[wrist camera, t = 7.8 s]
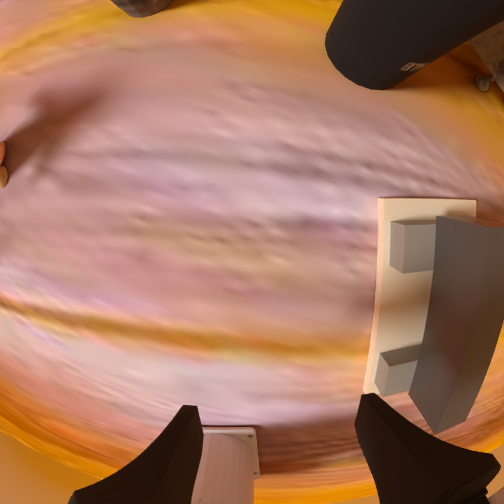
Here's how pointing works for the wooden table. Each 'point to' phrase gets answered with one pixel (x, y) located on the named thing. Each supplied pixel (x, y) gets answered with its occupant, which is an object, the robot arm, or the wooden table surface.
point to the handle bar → (460, 319)
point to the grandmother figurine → (1, 172)
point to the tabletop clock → (490, 56)
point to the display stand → (404, 287)
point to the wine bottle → (402, 35)
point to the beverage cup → (141, 6)
